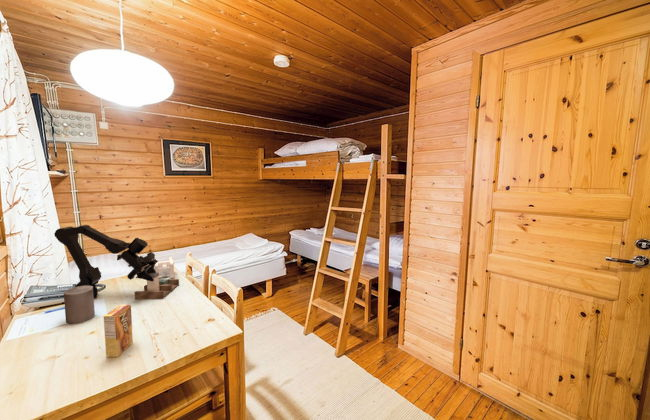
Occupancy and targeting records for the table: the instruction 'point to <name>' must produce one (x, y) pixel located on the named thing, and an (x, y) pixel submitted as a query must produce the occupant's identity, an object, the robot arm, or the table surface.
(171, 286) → the brown compartment tray
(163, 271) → the cable organizer
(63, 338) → the table surface
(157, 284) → the tan lidded canister
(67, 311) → the pillar candle
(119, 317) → the candy box
